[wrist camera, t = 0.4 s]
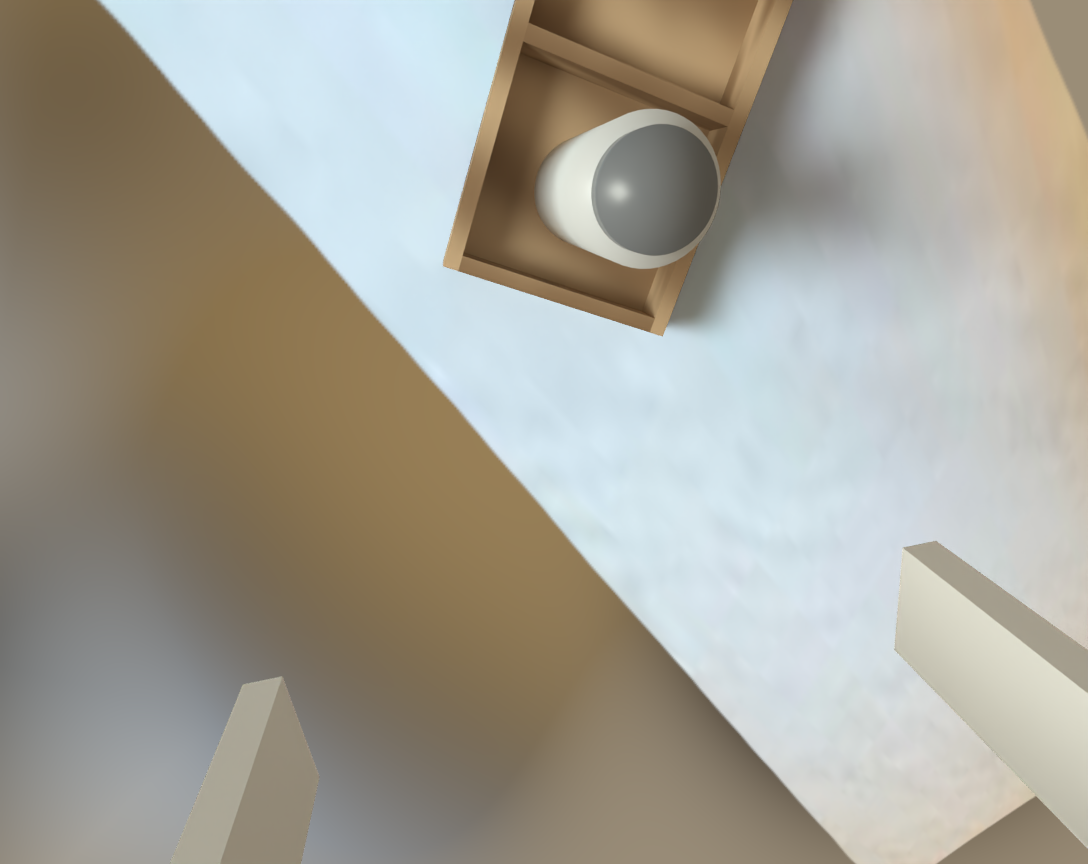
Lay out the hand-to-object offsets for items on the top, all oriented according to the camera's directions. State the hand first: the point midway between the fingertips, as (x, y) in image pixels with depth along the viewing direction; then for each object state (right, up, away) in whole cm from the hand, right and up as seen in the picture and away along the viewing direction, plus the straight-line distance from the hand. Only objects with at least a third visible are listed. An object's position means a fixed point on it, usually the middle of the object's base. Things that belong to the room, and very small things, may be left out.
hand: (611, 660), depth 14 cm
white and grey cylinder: (+1, +18, +22) cm, 28 cm away
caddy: (+2, +23, +21) cm, 31 cm away
